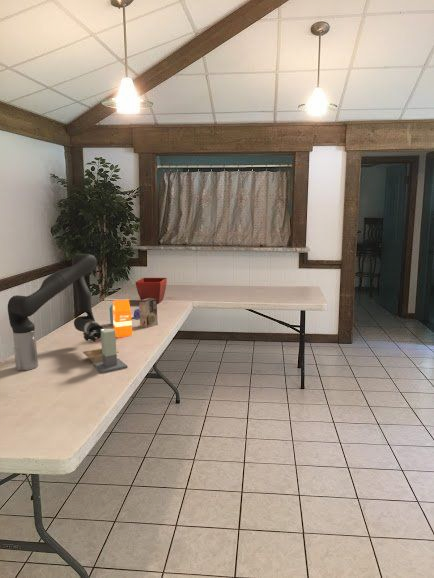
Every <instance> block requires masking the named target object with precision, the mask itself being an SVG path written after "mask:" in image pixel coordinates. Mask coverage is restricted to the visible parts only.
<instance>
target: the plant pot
mask: <svg viewBox="0 0 434 578" xmlns="http://www.w3.org/2000/svg"><path fill="white" fill-rule="evenodd" d="M167 282H168V278H167V277H142V278H140V279H138V280H136V281H135V288H136V290H137V293H138V297H139V300H143V299H147V298H154V299H156V301H157V304H160V303H161V302H162V301H164V297H165V295H166V289H167V284H168V283H167Z"/></svg>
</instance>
